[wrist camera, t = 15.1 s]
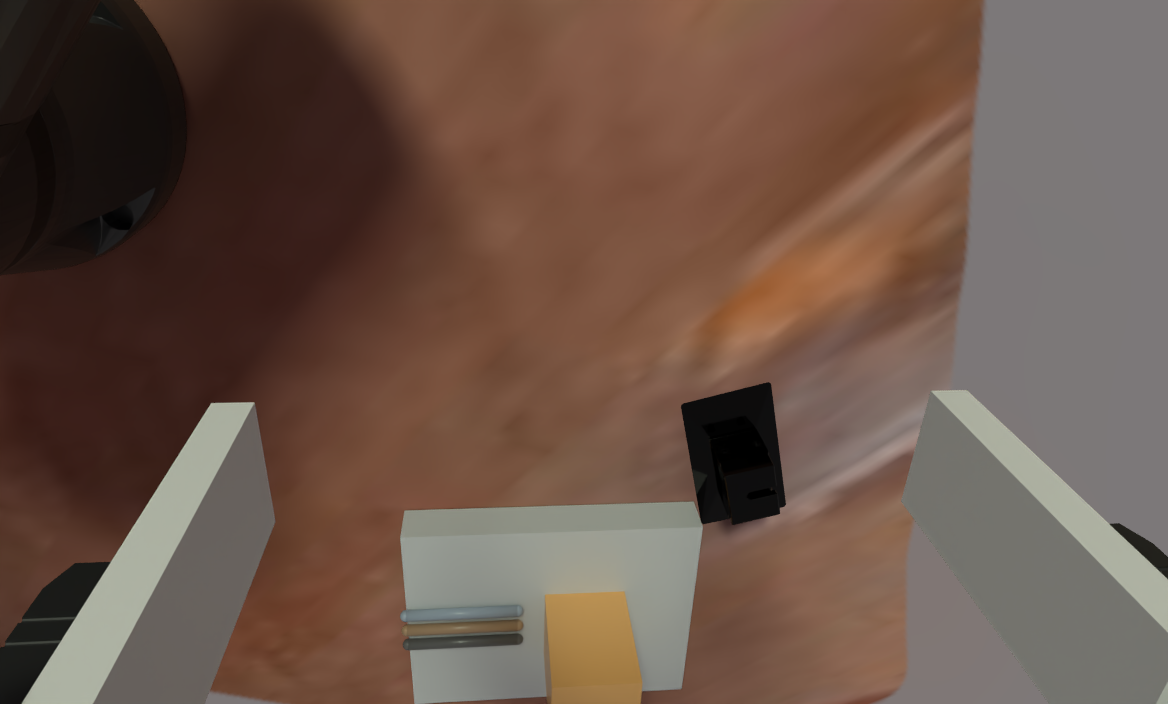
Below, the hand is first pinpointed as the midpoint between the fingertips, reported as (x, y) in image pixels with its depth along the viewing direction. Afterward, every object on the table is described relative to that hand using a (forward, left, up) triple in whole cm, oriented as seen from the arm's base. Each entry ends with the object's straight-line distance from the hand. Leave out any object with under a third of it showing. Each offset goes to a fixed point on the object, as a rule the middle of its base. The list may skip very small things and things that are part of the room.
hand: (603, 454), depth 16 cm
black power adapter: (+12, -19, -28) cm, 35 cm away
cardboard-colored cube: (+3, -29, -24) cm, 38 cm away
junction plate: (+1, -29, -27) cm, 39 cm away
